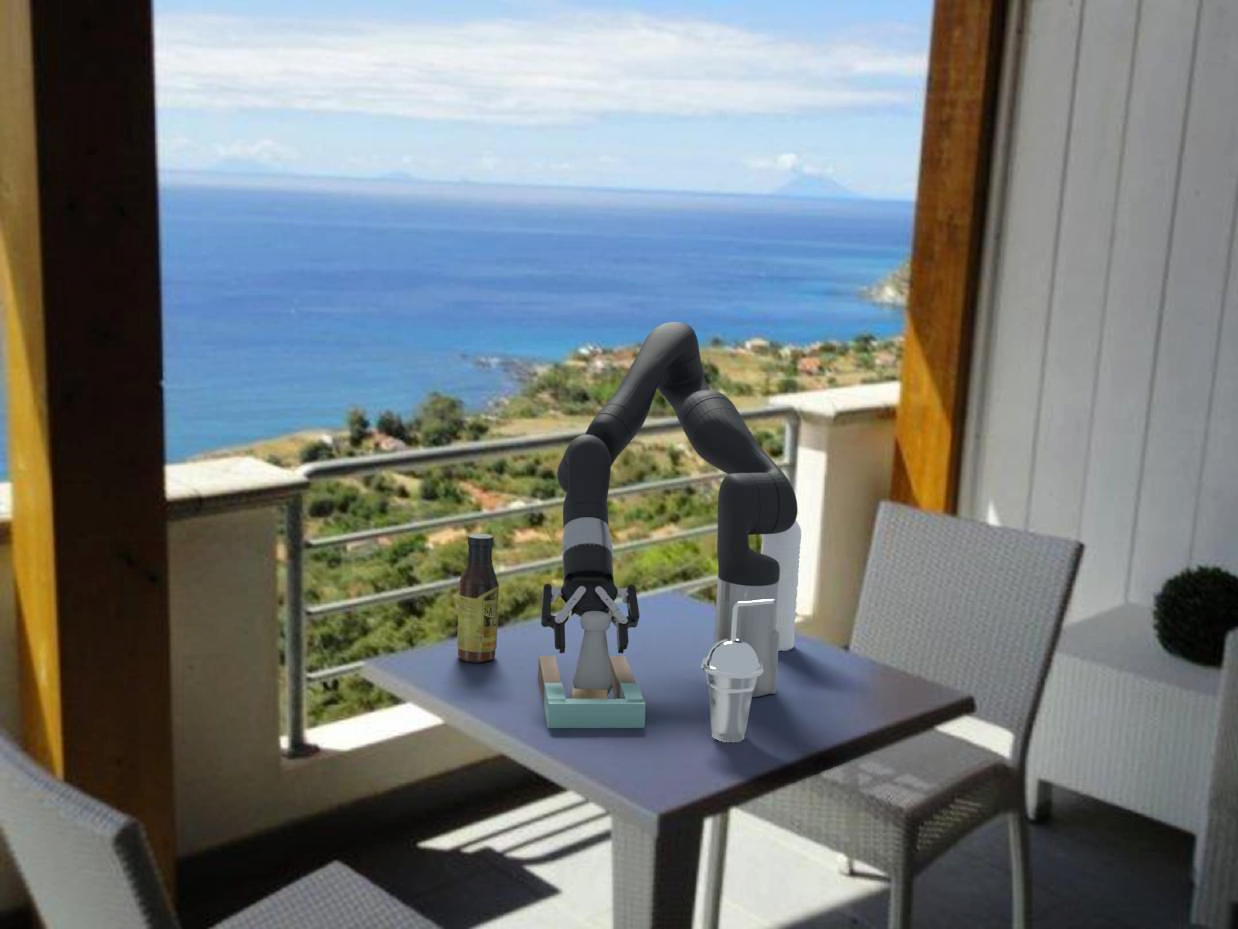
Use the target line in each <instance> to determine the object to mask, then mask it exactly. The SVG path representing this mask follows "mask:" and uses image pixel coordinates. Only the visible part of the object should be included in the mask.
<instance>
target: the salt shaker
mask: <svg viewBox="0 0 1238 929" xmlns="http://www.w3.org/2000/svg"><path fill="white" fill-rule="evenodd" d="M580 627H581V629H583V630H584V633H583V637H582V642H581V646H580V650H579V654H578V657H577V661H576V667H575V670H574V674H573V677H572V678H573V679H572V685H573V688H575V689H597V690H608V691H607V697H608V696H609V694H610V692H611V690H612V689H613V687H612V685H613V683H612V675H611V668H610V660H609V656H610V654H609V647H608V645H609V644H608V639H607V633H606V631H608V630H609V629H610V627H611V622H610V617H609V615H608V614H607V613H604V612H601V611H588V612H585V613H584V614H583V615H582V616H581V617H580Z"/></svg>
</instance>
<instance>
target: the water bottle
mask: <svg viewBox="0 0 1238 929" xmlns="http://www.w3.org/2000/svg"><path fill="white" fill-rule="evenodd" d="M801 540H802V529H801V526H800V524H799V523H798V520H796V521H795V523H794V524H793V526H792V527H791V528H790V529H788V530H787V531H784V532H781V533H776V534H761V549H760V550H761V554H764V555H767V556H769V557H772V558H774V559H775V560H776V561H778V563H779V565H780V577H779V591H778V606H777V621H776V630H777V631H778V632H779V649H778V652H780V651H781V652H787V651H790V650H792V649H793V648H794V645H795V631H796V618H797V617H796V615H797V613H796V610H797V604H798V603H797V598H798V587H799V567H800V565H799V564H800V557H801V556H800V553H801V551H800V550H801V542H802V541H801Z"/></svg>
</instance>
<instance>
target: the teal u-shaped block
mask: <svg viewBox="0 0 1238 929" xmlns="http://www.w3.org/2000/svg"><path fill="white" fill-rule="evenodd" d="M543 708H544V713H545V719H546V725H547V729H645V726H646V724H645V723H646V721H645V720H646V702H645V699H644V696H643V694H642V692H641V689H640V686H639V684H638V682H636V683H620V699H617V698H607V699H572V698H566V694H565V689H564V686H563V683H562V682H561V683H545V691H544V704H543Z"/></svg>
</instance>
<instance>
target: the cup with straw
mask: <svg viewBox="0 0 1238 929" xmlns="http://www.w3.org/2000/svg"><path fill="white" fill-rule="evenodd" d="M774 604H775V602H774V599H772V600H757V601H742V602H737V603H736V604H735V605H734V606H733V609H732V626H731V638H728V639H724V640H721V641H719V642H718V643H716V644H715V645H714V644H713V646H712V647H711V648H710V651H709V652H708V654H707V656H706V657H704V658H703V659H702V661H701V665H700V668H701V669H702V671H703V672H705V674H706V677H705V678H706V682H707V687H708V697H709V699H708V700H709V714H710V717H709V718H710V729H711V735H712V736H711V738H712V737H713V738H712V739H714V738H715V739H717V740H719V741H718V742H721V741H722V742H721V743H726V742H727V744H728V743H729V742H732V743H733V742H734V743H733V744H735V742H736V743H740V742H742V740H743V741H744V740H745V732H746V731H747V727H748V721H749V716H750V710H751V703H752V698H753V697H752V694H753V690H754V688H755V684H756V682H757V676H759V675H761V674H762V673H763V671H764V670H763V665H762V663H761V662H760V661H759V660H758V658H757V655H756V653H755V651H754V649H753V648H752V647H751V646H750V645H749V644H748V643H747V642H745V641H743V640H740V639H736V628H737V612H738V608H739V607H744V606H759V605H774ZM715 739H714V740H715ZM717 740H716V741H717ZM732 743H731V744H732ZM729 744H730V743H729Z"/></svg>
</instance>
